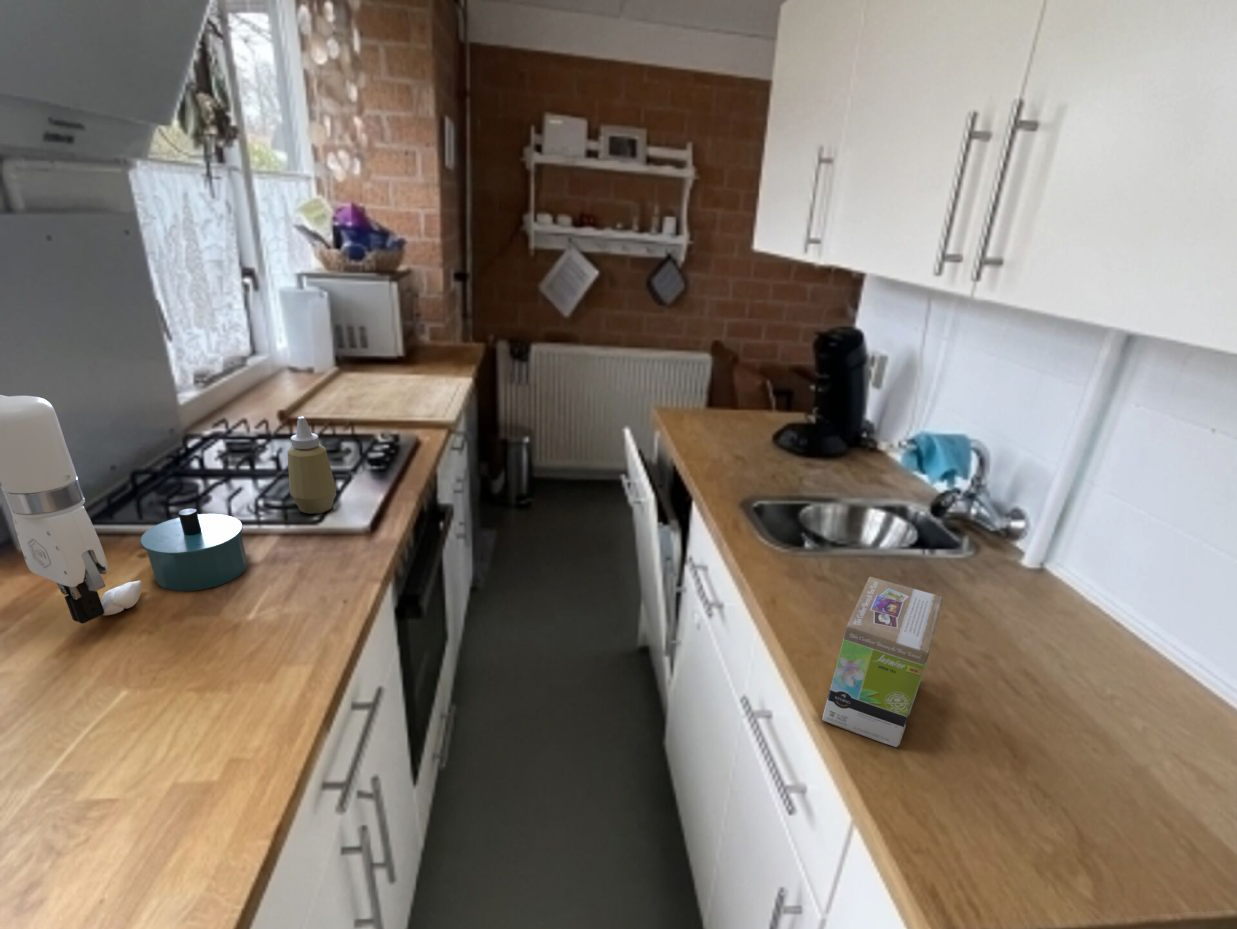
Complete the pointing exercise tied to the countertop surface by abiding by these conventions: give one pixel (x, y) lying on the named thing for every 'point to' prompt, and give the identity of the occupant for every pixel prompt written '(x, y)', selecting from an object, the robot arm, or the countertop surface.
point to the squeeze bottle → (310, 471)
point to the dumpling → (121, 597)
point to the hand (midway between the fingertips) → (89, 617)
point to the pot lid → (191, 533)
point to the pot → (200, 567)
